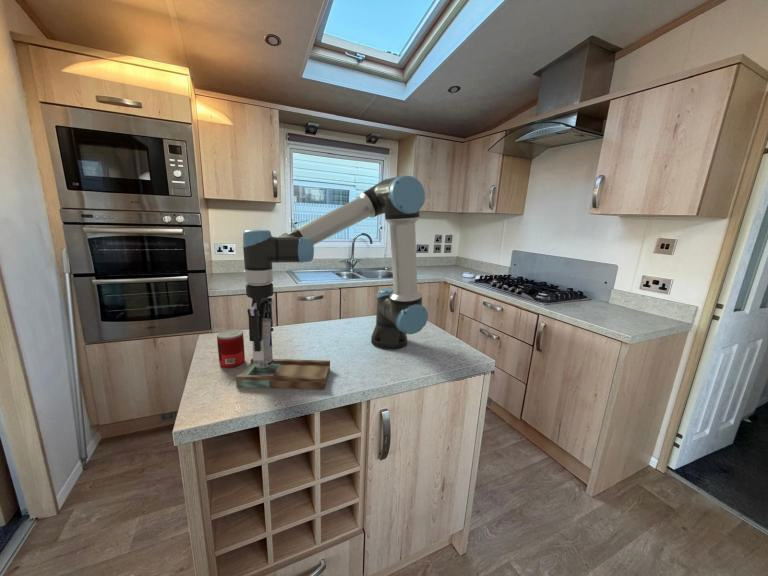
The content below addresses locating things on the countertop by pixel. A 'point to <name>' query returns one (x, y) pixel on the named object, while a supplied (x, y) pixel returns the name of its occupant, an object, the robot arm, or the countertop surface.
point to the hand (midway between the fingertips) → (263, 355)
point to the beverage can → (265, 345)
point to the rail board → (287, 375)
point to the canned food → (231, 348)
